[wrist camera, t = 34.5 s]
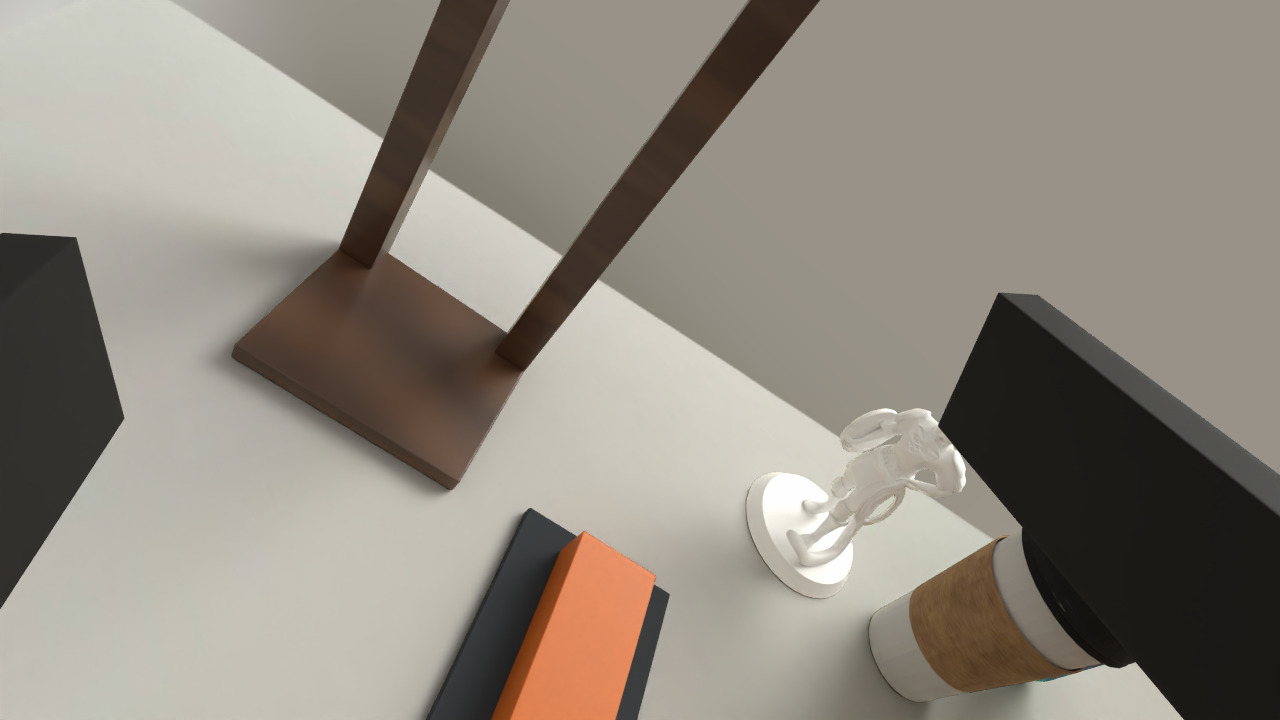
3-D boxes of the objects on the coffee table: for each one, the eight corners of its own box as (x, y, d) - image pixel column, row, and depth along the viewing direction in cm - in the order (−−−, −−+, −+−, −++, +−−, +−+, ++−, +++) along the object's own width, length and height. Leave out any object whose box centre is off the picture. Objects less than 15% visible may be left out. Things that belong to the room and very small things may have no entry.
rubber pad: (567, 960, 28) (574, 960, 28) (359, 859, 26) (364, 857, 26) (664, 597, 40) (670, 593, 39) (524, 511, 38) (530, 506, 38)
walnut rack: (451, 491, 36) (978, -132, 16) (230, 356, 34) (517, -570, 14) (533, 352, 45) (949, -175, 24) (359, 236, 42) (658, -454, 22)
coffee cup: (957, 651, 51) (1175, 571, 41) (938, 756, 44) (1192, 691, 34) (870, 564, 51) (1067, 465, 41) (839, 656, 44) (1063, 564, 35)
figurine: (735, 460, 49) (907, 332, 39) (830, 484, 53) (1006, 373, 44) (761, 590, 44) (966, 479, 34) (864, 604, 48) (1073, 509, 38)
